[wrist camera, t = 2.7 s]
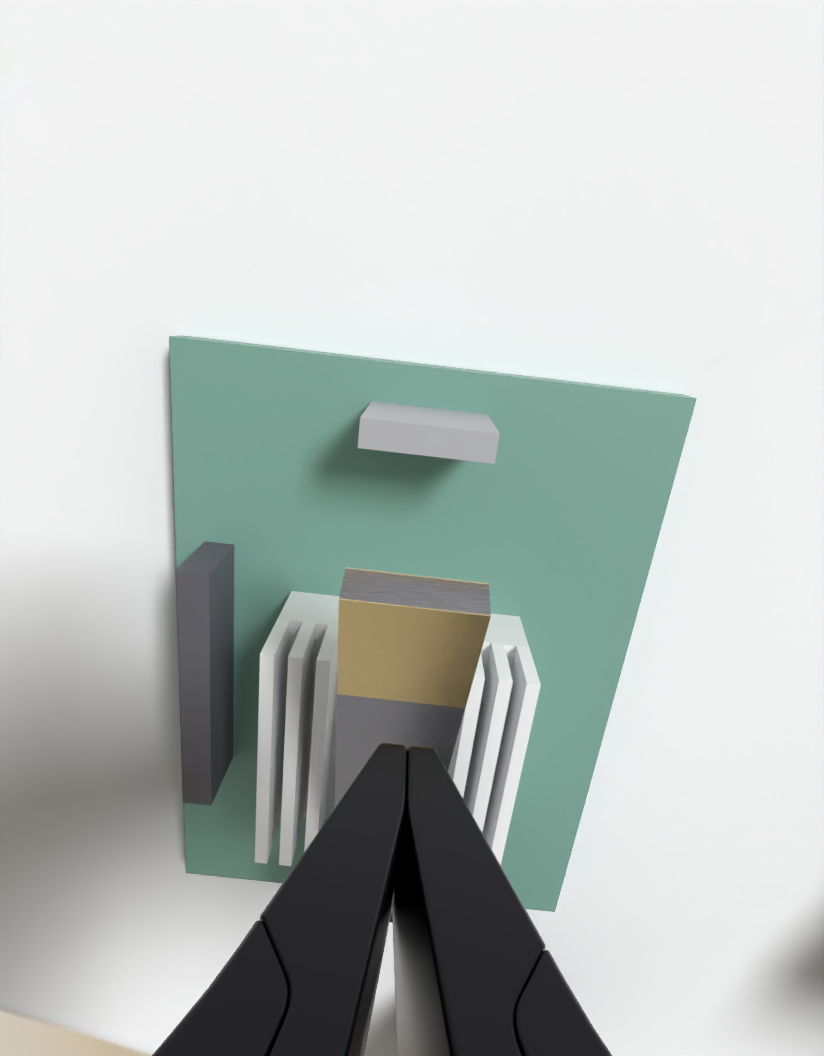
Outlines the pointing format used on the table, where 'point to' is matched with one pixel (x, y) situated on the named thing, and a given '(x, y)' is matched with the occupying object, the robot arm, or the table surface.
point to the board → (406, 548)
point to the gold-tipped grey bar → (404, 664)
